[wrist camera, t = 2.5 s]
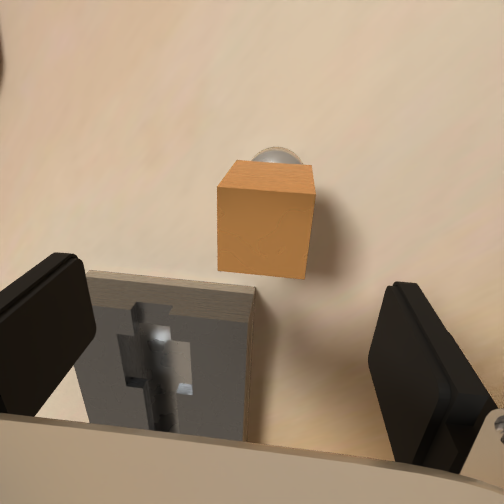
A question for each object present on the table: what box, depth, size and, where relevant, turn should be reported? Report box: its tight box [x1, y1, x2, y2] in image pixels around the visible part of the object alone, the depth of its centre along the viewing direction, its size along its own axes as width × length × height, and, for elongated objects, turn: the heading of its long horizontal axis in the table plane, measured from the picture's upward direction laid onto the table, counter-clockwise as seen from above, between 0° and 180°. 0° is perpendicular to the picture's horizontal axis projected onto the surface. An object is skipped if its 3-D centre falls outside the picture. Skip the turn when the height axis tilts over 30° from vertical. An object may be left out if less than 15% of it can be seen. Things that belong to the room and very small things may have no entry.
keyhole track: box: [74, 270, 255, 442], centre depth 31 cm, size 14×24×4 cm, turn 178°
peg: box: [217, 147, 316, 279], centre depth 19 cm, size 4×4×10 cm
